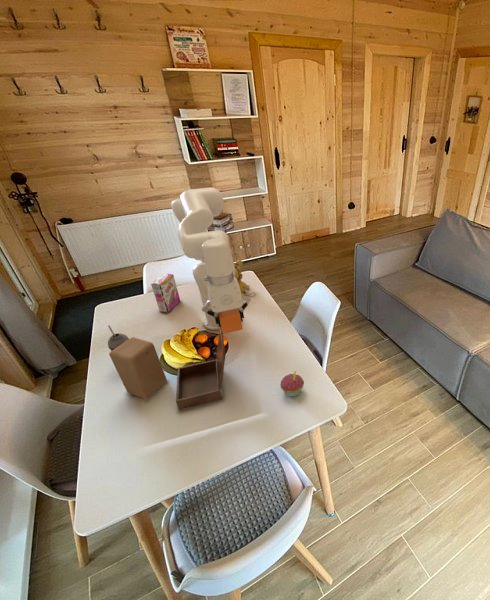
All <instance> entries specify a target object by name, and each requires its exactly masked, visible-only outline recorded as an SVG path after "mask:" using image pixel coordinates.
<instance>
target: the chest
mask: <svg viewBox="0 0 490 600" xmlns="http://www.w3.org/2000/svg"><path fill="white" fill-rule="evenodd" d="M175 391H176V394H175V403H176V405H177V408H178V410H179V411H182V410H185V409H191V408H193V407H197V406H202V405H205V404H209V403H213V402H217V401H220V400H223V392H222V391H223V390H222V388H221V390H219V387H218V374H217V361H216V359H212V360H207V361H202V362H198V363H193V364H188V365H184V366H180V367H179V366H178V367H177V376H176V390H175Z"/></svg>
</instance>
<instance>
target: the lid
mask: <svg viewBox="0 0 490 600" xmlns="http://www.w3.org/2000/svg"><path fill="white" fill-rule="evenodd" d="M218 332H219V333H218V341H217V347H216V349H217V350H216V357H215V360H216V361H217V374H218V387H219V390H221V389H222V385H223V379H224V371H225V364H226V349H225V348H226V347H225V339H224V334H223V332H222V328H221V327H220V329H219V330H218Z"/></svg>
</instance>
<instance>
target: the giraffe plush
mask: <svg viewBox="0 0 490 600" xmlns="http://www.w3.org/2000/svg"><path fill="white" fill-rule="evenodd" d="M243 265H244V264H243V261H242V260H241V259H237V260H236V262H234V267H235V278H236V279H237V281H238V284H239V287H240V291H241V293H242V294H244V295H246V296H248V297H254V295H255V293H249V292H245V291H246V290H249V288H250V285H249V284H247V283H246V282H245V281H243V280H242V279H243V273H242V268H241V267H242V266H243Z"/></svg>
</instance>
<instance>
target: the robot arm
mask: <svg viewBox="0 0 490 600" xmlns="http://www.w3.org/2000/svg"><path fill="white" fill-rule="evenodd" d="M170 206H171V210H172V213H173V214H174V216H175V218H176V219H177V221H178V222H179V225H178V229H177V237H178V241H179V243H180V247H181V250H182V252H183V254H184V255H185V256H186V257H187V258H189V259H194V260H195V261H204V262H201V263H197V264H196V265H194V266H193V268H192V276H193V279H194V281H195V283H196V285H197V288H198V291H199V294H200V298H201V299H200V300H201V302H202V307H201V312H204V314H205V319H204V321H203V325H204V327H205V328H206V329H207V330H210V331H220V327H221V324H220V319H219V315H218V313H219V312H222V311H227V310H231V309H236V308H238V310H239V313H240V317H241V322H242V323H243V321H244V320H243V319H245V313H244V312H245V309H246V308H247V307H248V305H249V304H250V302H251V301H252V299H251V296H248V295H244V294H242V293H241V291H240V287H239V284H238V281H237V279H236V278H235V267H234V263H235V262H234V259H233V253H232V249H231V245H230V244H231V243H230V238H229V236H228V235H229V234H227V233H226V232H225V231H224V230H219V229H218V230H217V229H216V230H211V231H210V230H209V231H208V228H210V227H211V225H212V224H213V222H214V217H217V216H220V215H221V213H222V212H223V210H224V206H225V202H224V197H223V195H222V193H221V192H220V190H218V188H216V187H211V186H210V187H199V188H191V189H187V190H184V191H183V192H182V193H181V194H180V196H179V198H176V199H174V200H172V202H171V205H170Z"/></svg>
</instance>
